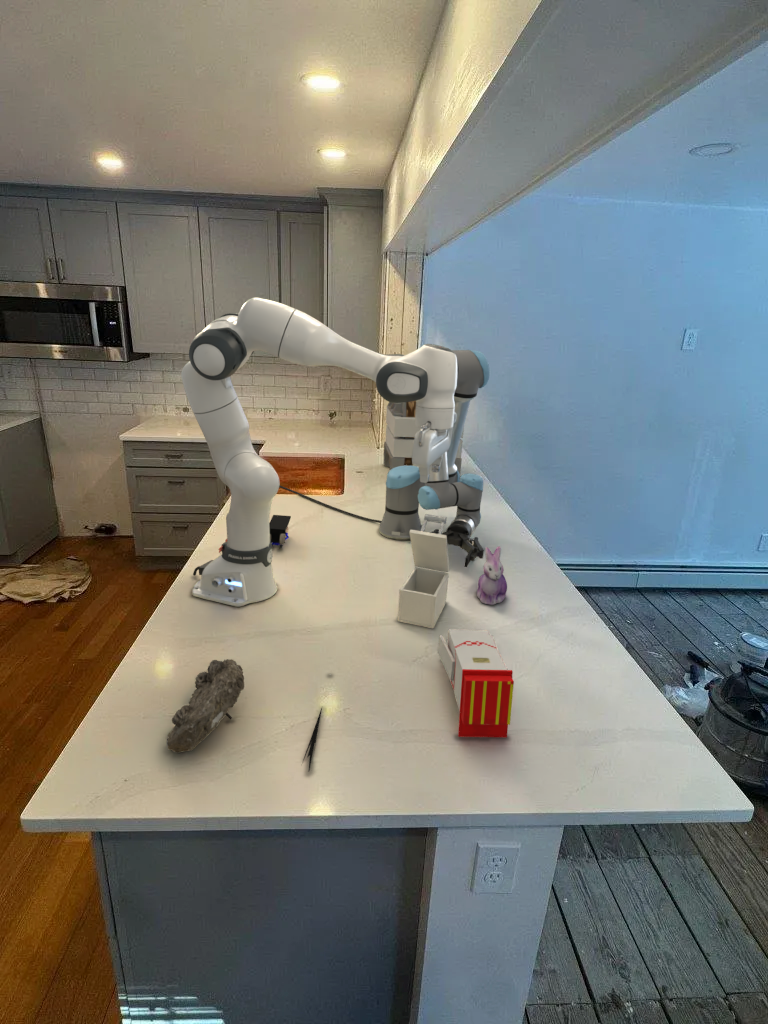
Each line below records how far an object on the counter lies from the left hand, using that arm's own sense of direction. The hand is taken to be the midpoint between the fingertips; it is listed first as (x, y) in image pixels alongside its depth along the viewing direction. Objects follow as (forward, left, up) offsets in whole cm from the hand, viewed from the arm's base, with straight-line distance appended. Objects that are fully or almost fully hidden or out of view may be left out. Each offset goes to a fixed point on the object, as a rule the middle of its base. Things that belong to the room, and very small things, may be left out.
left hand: (430, 476), depth 134 cm
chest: (0, +3, -38) cm, 38 cm away
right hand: (+4, +18, -29) cm, 34 cm away
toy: (+14, -28, -38) cm, 49 cm away
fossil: (-35, -47, -38) cm, 70 cm away
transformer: (-15, +135, -38) cm, 141 cm away
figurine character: (-51, +36, -38) cm, 73 cm away
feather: (-15, -43, -38) cm, 59 cm away
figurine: (+18, +15, -38) cm, 44 cm away
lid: (+1, +5, -22) cm, 23 cm away
